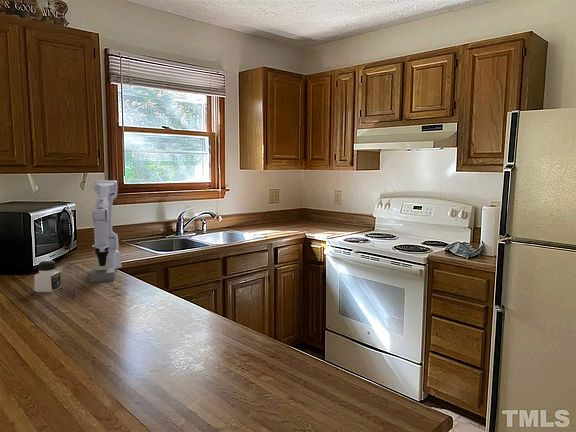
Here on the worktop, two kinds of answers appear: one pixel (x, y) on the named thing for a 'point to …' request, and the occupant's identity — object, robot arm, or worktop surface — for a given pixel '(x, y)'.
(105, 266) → the sage block
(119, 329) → the worktop surface
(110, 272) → the charcoal plinth
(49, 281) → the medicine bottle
